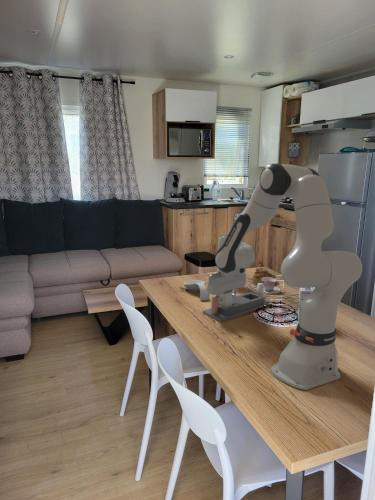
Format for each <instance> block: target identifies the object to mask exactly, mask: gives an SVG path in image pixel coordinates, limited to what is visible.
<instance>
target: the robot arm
mask: <svg viewBox="0 0 375 500" xmlns="http://www.w3.org/2000/svg"><path fill="white" fill-rule="evenodd" d="M283 197H284V198H289V199H291V198H292V201H293V208H294V215H295V216H294V217H295V225H296V237H295V238H296V239H295V243H294V245H293V248H292V250H291V251H290V253H289V254H287V256H286V257H285V258H284V259H283V261H282V262H281V266H280V274H281V278H282V280H283V281H284V283H285V284H286V285H287V286H289V287H293V288H312V287H313V291H312V292H311V293H310V294H309V295H308V296H306V297H305V298H304V299H303V300H302V302H301V304H300V317H299V321H298V323H297V326H296V328H295V329H294V328H291V329H290V330H289V331H290V332H289V334H290V336H293V338H292V339H291V340H290V342H289V343H288V344H287V345H286V347H284V349H283V350H282V352H281V353H280V355H279V360H278V361H277V362H276V363H275V364H274V365H272V366H271V368H270V372H271V374H272V375H273V376H274V377H276V378H277V379H278V380H280V381H281V382H283V383H285V384H286V385H289V386H290V387H293V388H295V389H300V390H304V391H307V390H311V389H314V388H316V387H319V386H322V385H326V384H328V383H331V382H334V381H337V380H340V379H341V373H340V372H339V370H338V368H339V367H338V366H339V363H338V362H339V360H338V359H339V358H338V354H339V353H338V349H337V347H336V343H335V342H336V340H337V328H336V322H337V315H338V310H339V305H340V303H341V301H342V299H343V297H344V295H345V294H346V292H347V291H348V289H349V288H350V287H351V286H352V285H353V284H354V283H355V282H356V283H357V281H358V280H359V279H360V278H361V276H362V272H363V263H362V260H361V259H360V257H359V256H358V254H357V253H355V252H352V251H347V250H346V251H345V250H339V249H338V250H323V251H322V245H323V241H324V240H325V239H327V238H329V236H331V235H332V233H333V231H334V228H335V224H334V218H333V212H332V211H333V210H332V205H331V198H330V195H329V192H328V188H327V185H326V183H325V181H324V179H323V178H322V177H321V176H320V174H319V173H318V172H317V170H315V169H313V168H310V167H304V166H299V165H295V164H290V163H289V164H287V163H286V164H285V163H284V164H283V163H282V164H281V163H271V164H270V163H269V164H266V166H265V167H263V169H262V170H261V172H260V176H259V180H258V182H257V183H256V185H255V187H254V189H253V192H252V193H251V196H250V199H249V200H248V203H247V204H246V206H245V207H244V210H243V211H242V212H241V213H240V214H239V215H238V217H237V218H236V220H235V221H234V223H233V225H232V226H231V229H230V231H229V232H228V234H222V235H220V236H219V238H218V241H217V251H216V253H215V257H214V263H215V266H216V268H217V270H216V272H213V273H211V274H210V275H209V276H208V281H207V287H206V289H207V292H208V295H211V296H218V302H222V300H223V298H221V297H220V295H221V293H223V292H226V291H229V290H232V298H236V296H237V293H238V292H239V289H241V288H244V287H245V286H246V284H247V275H246V271H247V268H248V267H250V266H253V265H254V264H255V262H256V259H257V254H256V250H255V249H254V247H253V246H252V245H250V244H247V243H245V242H244V240H245V237H246V236H248V234H249V233H250V232H253V231H254V230H256V229H258V228H259V227H262V226H264V225H266V224H267V223H270V222H271V220H272V219H273V218H274V217H275V215H276V213H277V211H278V209H279V208H280V207H279V206H280V204H281V202H282V199H283Z"/></svg>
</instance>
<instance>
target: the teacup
mask: <svg viewBox="0 0 375 500" xmlns="http://www.w3.org/2000/svg"><path fill="white" fill-rule="evenodd" d="M262 281H263V284H264V292H265V293H264V292H263V294H267V295H276V294H279V293H281V289H280V287H277V286H276V284H277V281H278V279H277V278H276V279H275V278H271V277H264V278H262ZM275 283H276V284H275Z"/></svg>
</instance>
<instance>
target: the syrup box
mask: <svg viewBox="0 0 375 500" xmlns="http://www.w3.org/2000/svg"><path fill="white" fill-rule="evenodd" d="M298 288H299V287H298ZM313 290H314V287H312V288H299V289H298V303H297V304H298V306H297V307H298V308H297V320H298V322H299V317H300V304H301V302H302V300H303V299H304V298H305V297H306V296H308V295H309V294H310V293H311V292H312V291H313Z"/></svg>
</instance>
